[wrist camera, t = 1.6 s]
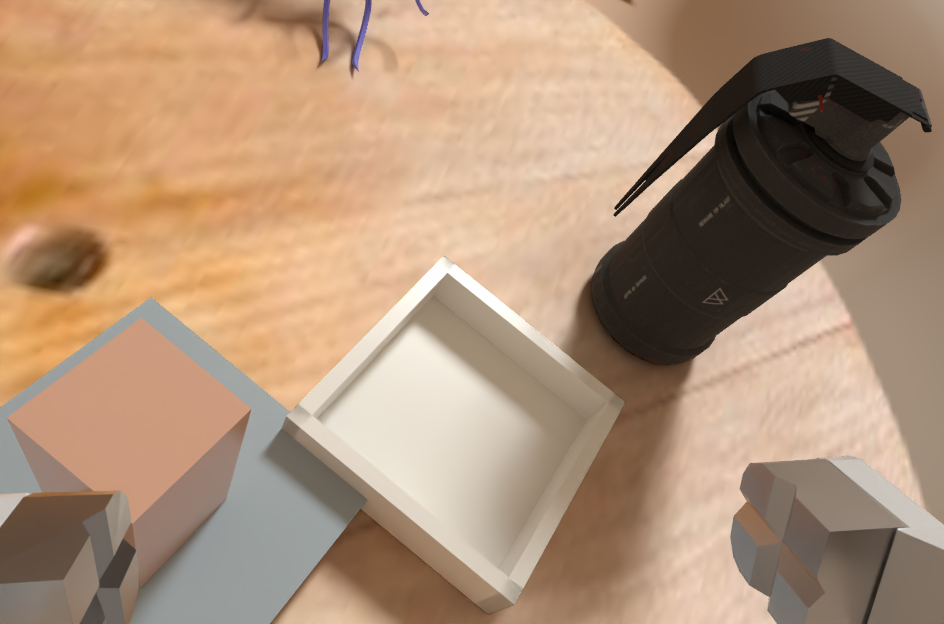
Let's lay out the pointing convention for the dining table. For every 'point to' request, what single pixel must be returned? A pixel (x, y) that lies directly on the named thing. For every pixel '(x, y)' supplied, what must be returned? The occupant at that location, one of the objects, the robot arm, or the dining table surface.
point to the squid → (361, 34)
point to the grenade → (757, 197)
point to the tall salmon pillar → (138, 438)
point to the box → (460, 432)
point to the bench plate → (239, 517)
